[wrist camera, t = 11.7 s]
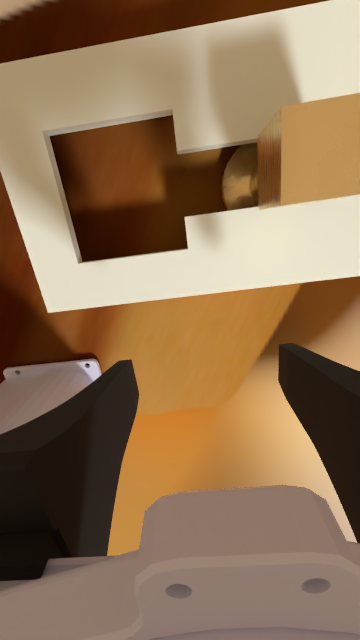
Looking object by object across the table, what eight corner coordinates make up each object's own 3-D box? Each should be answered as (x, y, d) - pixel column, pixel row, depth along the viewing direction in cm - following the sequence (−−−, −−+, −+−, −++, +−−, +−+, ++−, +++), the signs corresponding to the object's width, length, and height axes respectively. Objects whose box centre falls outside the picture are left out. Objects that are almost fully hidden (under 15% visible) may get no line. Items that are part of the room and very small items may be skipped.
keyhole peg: (224, 233, 20) (252, 239, 11) (218, 144, 17) (247, 70, 9) (301, 222, 19) (391, 220, 11) (305, 129, 17) (420, 38, 9)
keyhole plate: (70, 298, 22) (48, 312, 18) (12, 102, 17) (-34, 70, 13) (352, 264, 20) (387, 272, 17) (378, 37, 15) (437, -21, 12)
